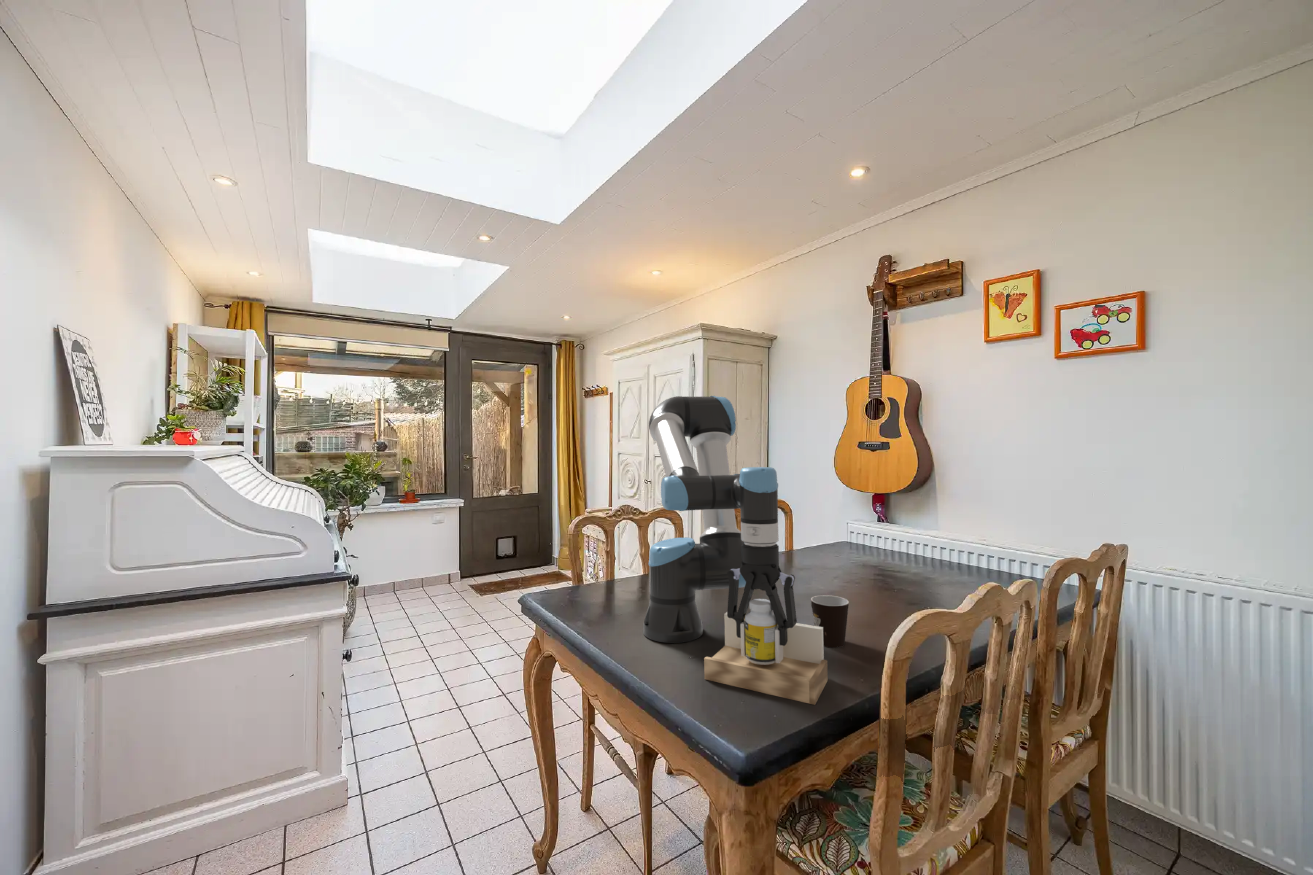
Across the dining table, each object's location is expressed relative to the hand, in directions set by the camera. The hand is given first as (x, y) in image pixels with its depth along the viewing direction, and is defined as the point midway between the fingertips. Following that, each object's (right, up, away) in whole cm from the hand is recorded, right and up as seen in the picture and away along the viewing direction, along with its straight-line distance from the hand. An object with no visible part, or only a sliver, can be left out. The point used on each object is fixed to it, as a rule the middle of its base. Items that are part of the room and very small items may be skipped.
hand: (761, 656), depth 104 cm
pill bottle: (0, -1, 0) cm, 1 cm away
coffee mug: (+21, -5, +20) cm, 29 cm away
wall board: (+3, -4, +5) cm, 8 cm away
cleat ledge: (0, -4, 0) cm, 4 cm away
